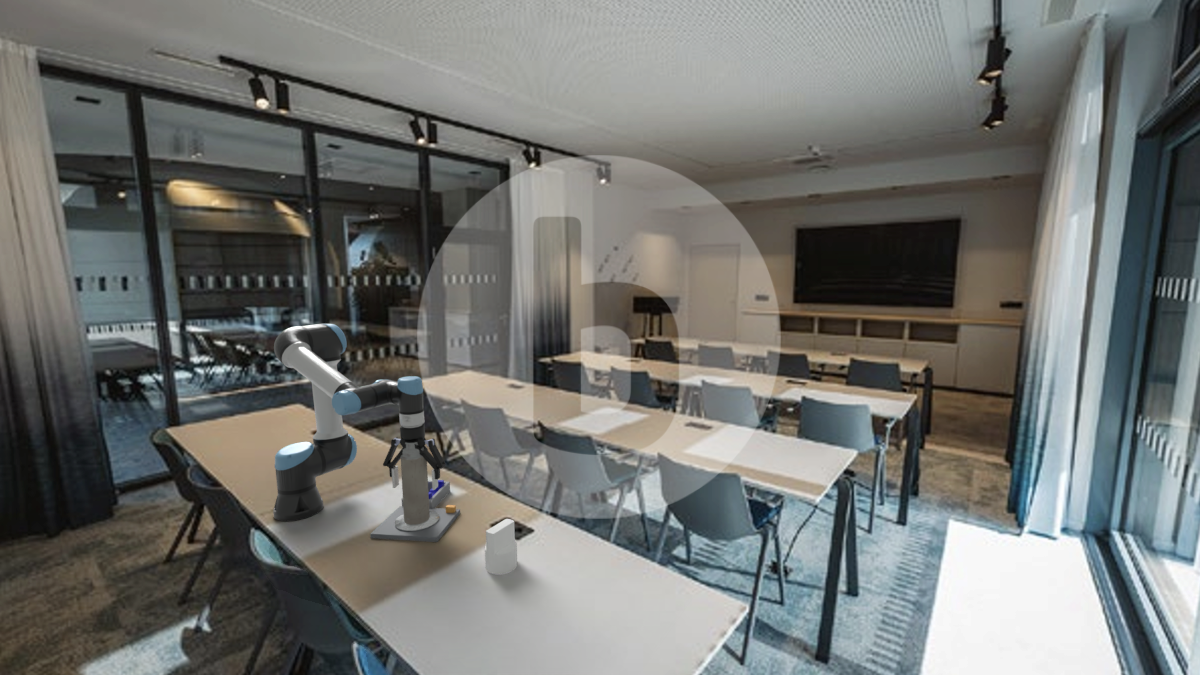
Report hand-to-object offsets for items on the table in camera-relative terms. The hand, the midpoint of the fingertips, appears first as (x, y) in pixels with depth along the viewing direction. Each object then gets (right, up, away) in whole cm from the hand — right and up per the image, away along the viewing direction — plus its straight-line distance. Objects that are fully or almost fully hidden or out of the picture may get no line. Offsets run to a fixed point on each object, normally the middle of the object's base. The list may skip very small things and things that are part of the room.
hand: (415, 487), depth 168 cm
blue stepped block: (-1, -11, +19) cm, 22 cm away
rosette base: (0, -13, +2) cm, 13 cm away
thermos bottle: (0, -11, +1) cm, 11 cm away
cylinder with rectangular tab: (+32, -16, -21) cm, 42 cm away
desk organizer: (-3, -11, +20) cm, 23 cm away
